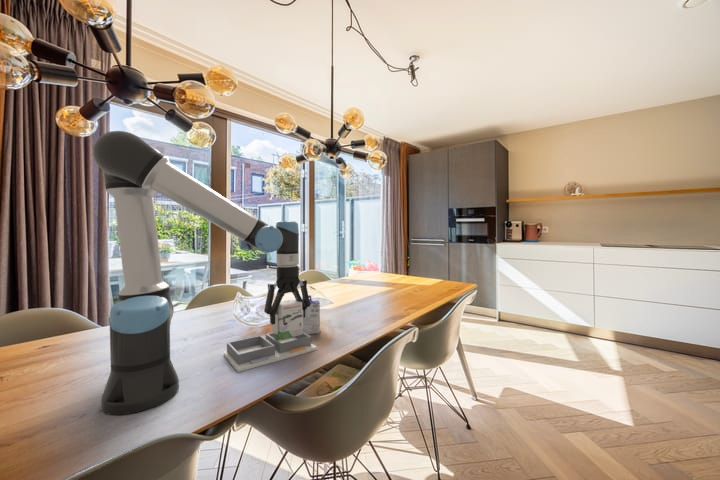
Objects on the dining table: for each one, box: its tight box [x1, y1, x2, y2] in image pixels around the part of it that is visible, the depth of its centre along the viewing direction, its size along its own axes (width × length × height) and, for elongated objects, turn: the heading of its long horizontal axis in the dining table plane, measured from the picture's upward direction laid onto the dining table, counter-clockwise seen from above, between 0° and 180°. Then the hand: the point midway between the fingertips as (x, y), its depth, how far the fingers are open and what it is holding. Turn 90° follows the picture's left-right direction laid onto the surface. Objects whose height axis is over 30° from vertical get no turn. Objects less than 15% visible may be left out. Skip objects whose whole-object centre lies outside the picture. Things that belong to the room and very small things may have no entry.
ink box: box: [274, 299, 302, 340], centre depth 104 cm, size 9×5×12 cm, turn 134°
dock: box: [223, 332, 318, 373], centre depth 99 cm, size 26×15×4 cm, turn 129°
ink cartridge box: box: [301, 294, 321, 335], centre depth 119 cm, size 10×6×14 cm, turn 106°
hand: (288, 330), depth 104 cm, fingers closed on ink box, 9 cm apart
